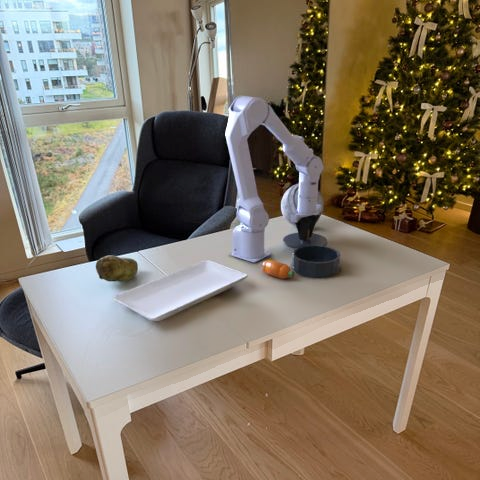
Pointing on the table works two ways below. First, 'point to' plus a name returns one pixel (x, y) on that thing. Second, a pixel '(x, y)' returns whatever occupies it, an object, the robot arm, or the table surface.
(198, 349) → the table surface
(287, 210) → the decorative orb
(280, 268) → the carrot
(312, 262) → the pan
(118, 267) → the potato
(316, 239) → the lid
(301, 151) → the robot arm
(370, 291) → the table surface
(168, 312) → the tray
